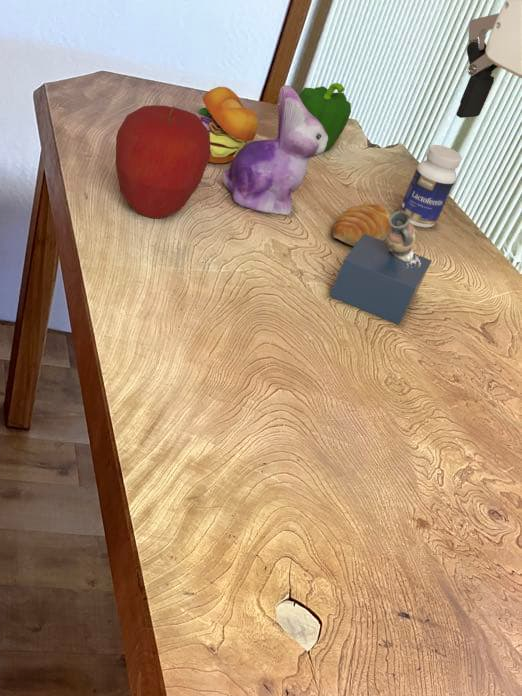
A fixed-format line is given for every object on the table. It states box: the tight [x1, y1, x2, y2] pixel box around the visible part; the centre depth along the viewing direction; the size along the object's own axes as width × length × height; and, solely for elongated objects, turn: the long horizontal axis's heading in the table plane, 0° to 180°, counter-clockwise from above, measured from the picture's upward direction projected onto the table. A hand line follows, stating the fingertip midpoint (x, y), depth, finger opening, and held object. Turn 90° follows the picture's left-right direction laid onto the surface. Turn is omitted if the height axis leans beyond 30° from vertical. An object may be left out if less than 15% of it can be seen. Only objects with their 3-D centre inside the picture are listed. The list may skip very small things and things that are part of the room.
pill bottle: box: [398, 144, 463, 229], centre depth 128 cm, size 6×6×10 cm
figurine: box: [221, 84, 328, 216], centre depth 120 cm, size 9×10×15 cm
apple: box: [115, 104, 211, 219], centre depth 112 cm, size 12×12×13 cm
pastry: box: [331, 201, 391, 247], centre depth 121 cm, size 9×7×4 cm
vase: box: [381, 207, 421, 268], centre depth 106 cm, size 5×5×6 cm
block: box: [329, 234, 433, 325], centre depth 110 cm, size 9×9×5 cm
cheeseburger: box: [191, 86, 259, 164], centre depth 132 cm, size 10×11×10 cm
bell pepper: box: [298, 82, 352, 152], centre depth 141 cm, size 8×8×10 cm
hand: (500, 134), depth 94 cm, fingers open, 9 cm apart
